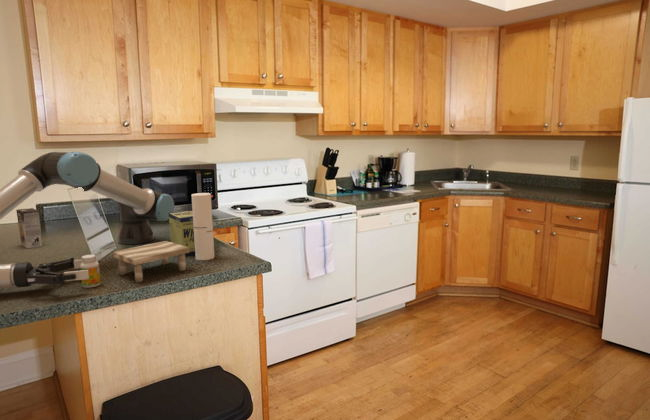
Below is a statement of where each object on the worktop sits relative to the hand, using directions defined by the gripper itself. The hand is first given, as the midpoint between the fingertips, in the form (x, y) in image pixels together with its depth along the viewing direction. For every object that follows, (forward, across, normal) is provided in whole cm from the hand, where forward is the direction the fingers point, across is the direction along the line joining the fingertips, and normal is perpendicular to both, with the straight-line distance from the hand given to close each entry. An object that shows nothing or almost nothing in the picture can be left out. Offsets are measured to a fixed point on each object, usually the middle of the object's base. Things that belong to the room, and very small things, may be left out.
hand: (92, 268), depth 146 cm
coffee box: (-36, -68, -6) cm, 77 cm away
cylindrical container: (+36, -21, -6) cm, 42 cm away
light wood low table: (+18, -9, -6) cm, 20 cm away
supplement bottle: (-1, 0, -6) cm, 6 cm away
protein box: (+30, -34, -6) cm, 46 cm away
